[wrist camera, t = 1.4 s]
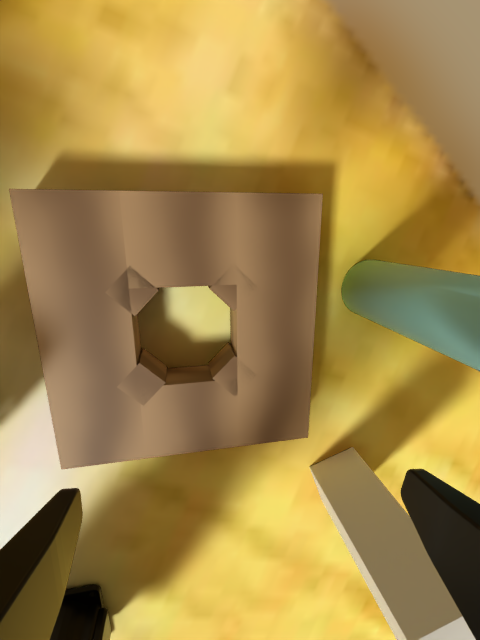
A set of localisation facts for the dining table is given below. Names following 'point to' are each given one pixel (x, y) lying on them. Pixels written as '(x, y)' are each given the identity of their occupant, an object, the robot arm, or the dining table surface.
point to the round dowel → (419, 305)
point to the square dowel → (387, 551)
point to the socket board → (136, 291)
